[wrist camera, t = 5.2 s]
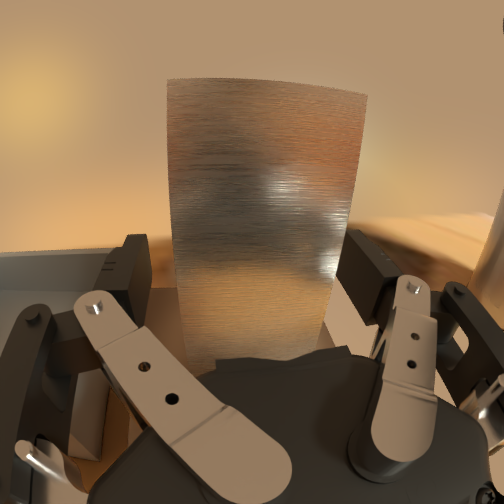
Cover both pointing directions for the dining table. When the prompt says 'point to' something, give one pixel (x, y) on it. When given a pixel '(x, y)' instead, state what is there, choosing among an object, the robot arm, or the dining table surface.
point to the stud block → (171, 333)
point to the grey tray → (59, 300)
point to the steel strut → (258, 211)
